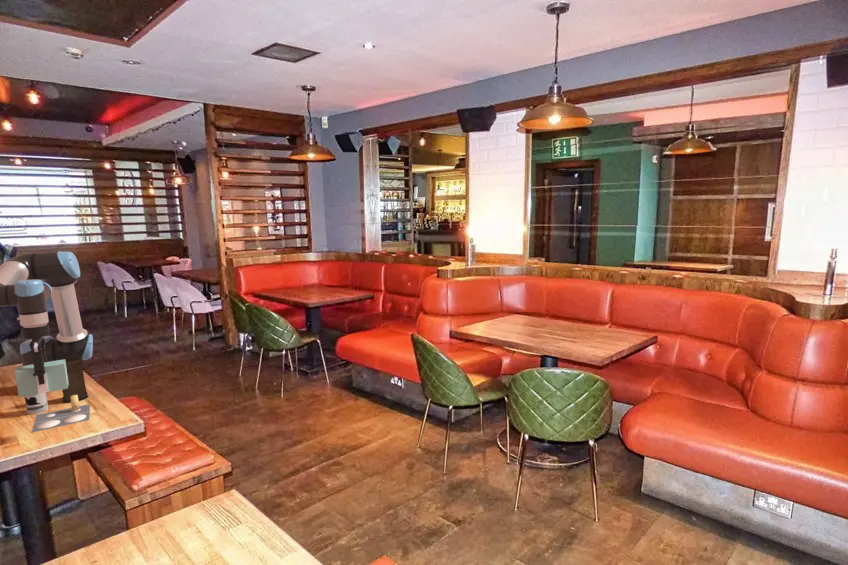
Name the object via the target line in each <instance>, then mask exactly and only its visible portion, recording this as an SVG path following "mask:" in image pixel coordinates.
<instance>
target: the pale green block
mask: <svg viewBox="0 0 848 565" xmlns="http://www.w3.org/2000/svg"><path fill="white" fill-rule="evenodd" d="M44 367H45V373H46V377H47V384H48V390H49V392H48V393H50V392H55V391H62V390H63V389H68V384H69V383H68V376H67V369H66V362H65V359H63V360H57V361H51V362H44ZM34 373H35V372H34V365H33V364H31V365H25V366H22V365H20V366H16V369H15V370H14V375H15V382H16V388H17V395H18V398H23V397H24V398H25V396H30V395H35V394H38V388H37V381H36V376H33V374H34Z"/></svg>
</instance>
